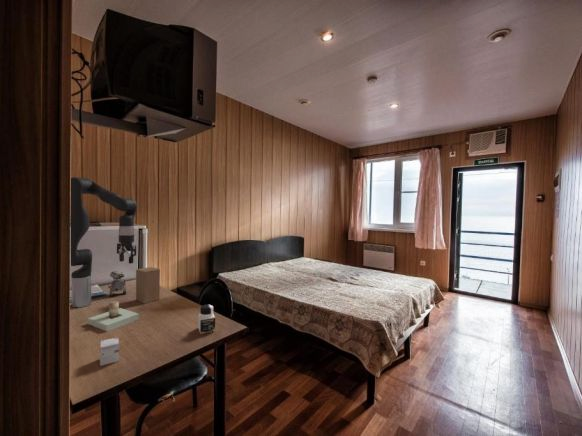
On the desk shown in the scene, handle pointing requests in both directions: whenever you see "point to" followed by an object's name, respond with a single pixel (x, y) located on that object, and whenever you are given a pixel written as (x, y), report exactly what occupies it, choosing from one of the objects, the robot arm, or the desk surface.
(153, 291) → the wooden block
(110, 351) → the skincare box
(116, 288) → the figurine
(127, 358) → the desk surface
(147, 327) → the desk surface
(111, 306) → the peg
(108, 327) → the seat board
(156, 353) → the desk surface
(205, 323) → the medicine bottle
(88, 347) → the desk surface
